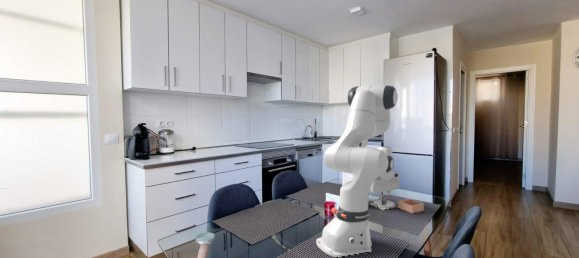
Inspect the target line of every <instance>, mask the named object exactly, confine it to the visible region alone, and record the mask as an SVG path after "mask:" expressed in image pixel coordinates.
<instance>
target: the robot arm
mask: <svg viewBox="0 0 579 258" xmlns="http://www.w3.org/2000/svg"><path fill="white" fill-rule="evenodd" d="M398 95H399V94H398V92H397V89H396V88H395V86H393V85H373V84H371V85H370V84H369V85H362V86H353V87H351V88H350V89H349V90H348V92H347V103H348V105H349V106H350V107H349V110H348V116H347V120H346V125H345V128H344V131H343V133H342V135H341V136H340V137H339V138H338V139H337V140H336V142H334V143H333V144H332V145H329V147H328V148H326V150H325V152H324V155H323V160H324V165H325V166H326V168H328V169H330V170H332V171H336V172H340V173H343V172H346V173H352V174H354V177H353V180H352V181H349V182H347V183H345V184H343V185H342V186H341V187H340V189H339V206H338V208H336V207H332V208H331V213H332V214H335V217H333V218H332V219H331V220H330V221H329V222H328V223H327V224H326V225H325V226H324V228H323V230H322V232H321V233H322V234H321V236H320V237H318V238H317V239H316V241H315V244H316V245H317V247H318V248H319V249H320V250H321V251H322V252H324V253H325V254H326V255H328V256H330V257H333V258H336V257H338V258H343V257H342V256H345V257H349V256H348V255H351V256H355V255H354V254H357V255H360V254H359V253H364V252H370V253H371V252H372V246H373V242H372V238H371V234H370V226H369V219H370V208H369V196H370V194H377V195H378V200H381V199H383V196H382V195H383V194H382V193H384V192H385V194H384V195H386V196H387V199H389V197H390V194H391V191H394V190H399V187H400V178H399V177H400V173H398V172H395V171H394V165H395V164H394V157H393V150H392V148H391V147H390V146H382V145H381V146H380V145H379V146H377V148H375V147H371V146H368V142H369V139H371V138H375V137H377V136H378V137H379V136H380V135H382V134H384V133H387V131H388V130H389V128H390V125H391V112H390V111H391V110H390V109H393V108H394V107H396V105H397V103H398V99H399V96H398ZM364 254H365V253H364Z"/></svg>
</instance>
